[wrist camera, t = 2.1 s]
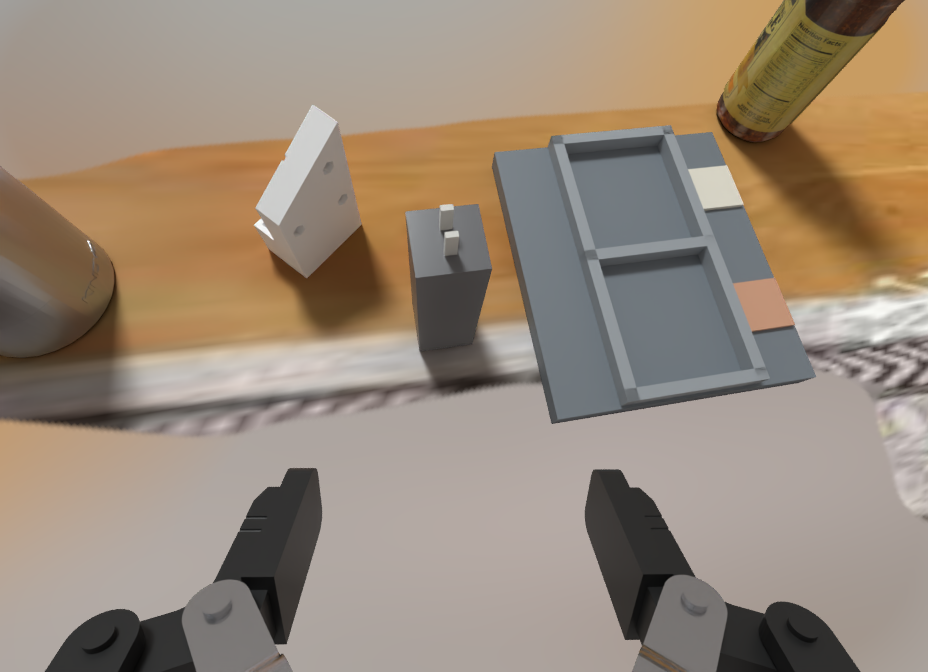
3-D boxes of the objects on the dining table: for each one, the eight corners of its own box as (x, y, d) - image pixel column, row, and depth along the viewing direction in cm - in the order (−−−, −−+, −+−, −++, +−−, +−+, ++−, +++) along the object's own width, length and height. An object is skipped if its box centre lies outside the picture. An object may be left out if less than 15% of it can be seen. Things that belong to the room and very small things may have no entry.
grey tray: (551, 423, 31) (563, 416, 29) (492, 166, 38) (496, 141, 35) (798, 382, 33) (830, 372, 31) (701, 146, 40) (720, 120, 37)
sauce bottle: (746, 81, 43) (989, -246, 24) (796, 129, 41) (1096, -181, 23) (694, 109, 41) (911, -218, 23) (744, 160, 40) (1020, -146, 21)
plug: (419, 351, 32) (414, 261, 20) (412, 303, 33) (403, 190, 22) (471, 344, 33) (496, 251, 21) (463, 296, 34) (481, 183, 22)
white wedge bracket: (398, 165, 34) (337, 121, 26) (328, 280, 36) (250, 274, 28) (359, 138, 35) (288, 87, 26) (292, 253, 37) (206, 239, 29)
